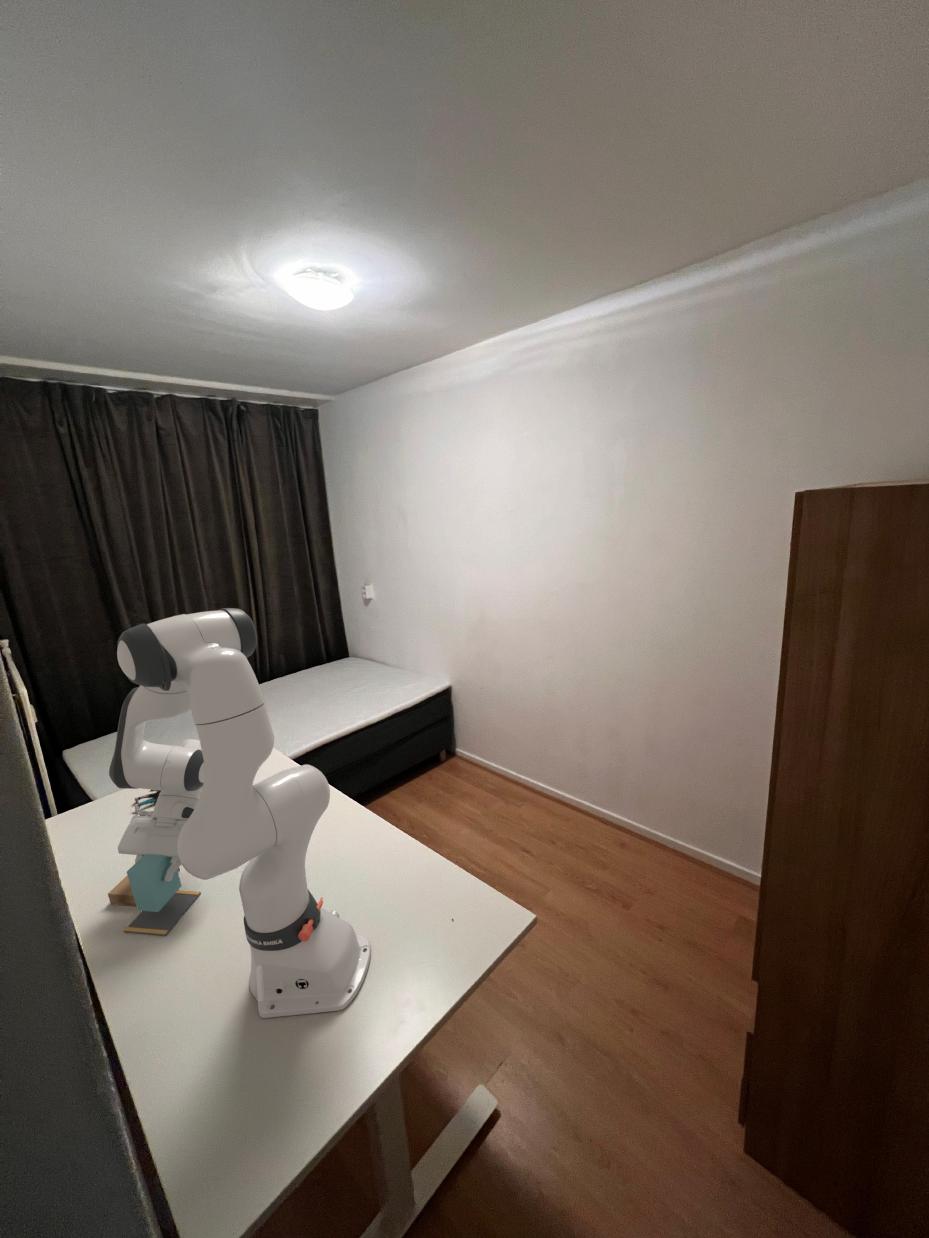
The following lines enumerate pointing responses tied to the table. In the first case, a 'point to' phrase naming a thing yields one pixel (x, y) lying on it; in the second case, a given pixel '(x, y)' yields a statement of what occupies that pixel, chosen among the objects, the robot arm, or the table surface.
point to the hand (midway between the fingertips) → (152, 880)
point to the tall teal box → (152, 882)
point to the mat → (163, 915)
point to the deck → (123, 893)
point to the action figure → (153, 800)
